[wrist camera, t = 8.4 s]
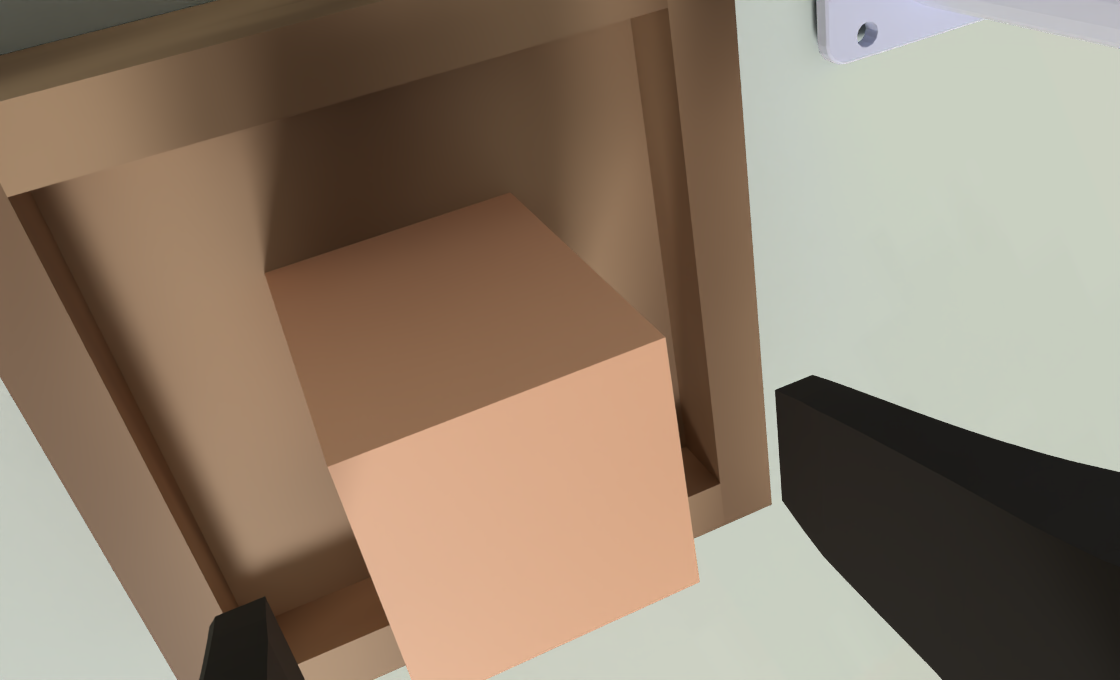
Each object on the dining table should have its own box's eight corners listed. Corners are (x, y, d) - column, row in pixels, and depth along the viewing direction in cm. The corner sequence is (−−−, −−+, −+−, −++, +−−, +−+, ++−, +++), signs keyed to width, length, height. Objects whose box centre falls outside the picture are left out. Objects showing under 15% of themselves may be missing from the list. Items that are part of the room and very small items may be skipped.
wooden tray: (629, -104, 18) (727, -91, 15) (694, 424, 24) (771, 504, 21) (-90, 77, 15) (-140, 138, 12) (204, 624, 21) (217, 748, 18)
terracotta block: (509, 192, 17) (665, 336, 12) (554, 393, 20) (699, 581, 15) (264, 273, 16) (327, 466, 11) (342, 475, 19) (423, 707, 14)
